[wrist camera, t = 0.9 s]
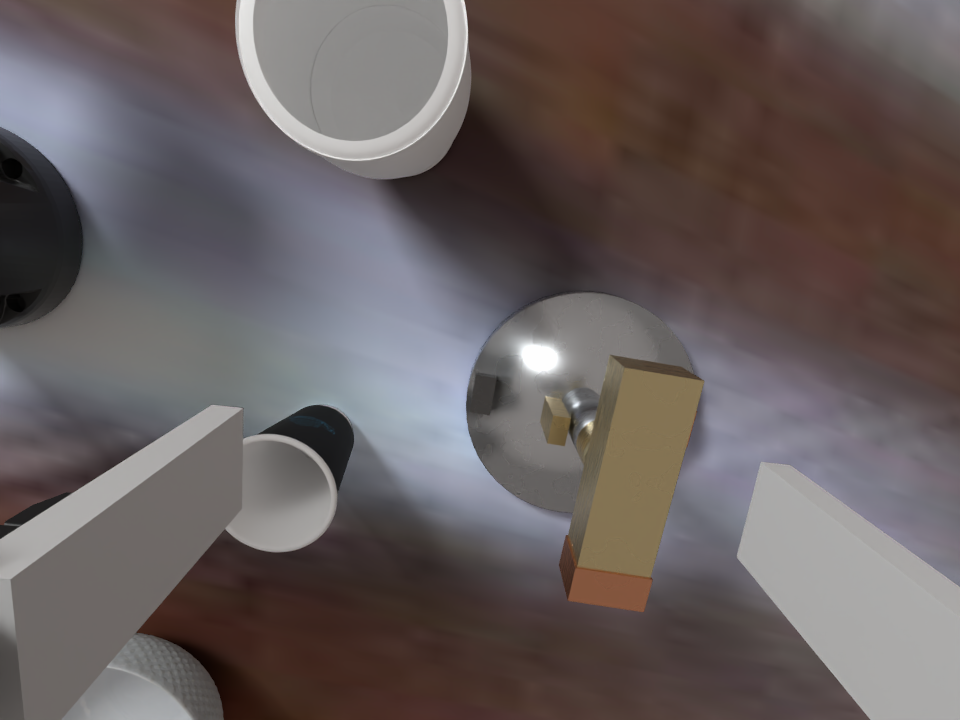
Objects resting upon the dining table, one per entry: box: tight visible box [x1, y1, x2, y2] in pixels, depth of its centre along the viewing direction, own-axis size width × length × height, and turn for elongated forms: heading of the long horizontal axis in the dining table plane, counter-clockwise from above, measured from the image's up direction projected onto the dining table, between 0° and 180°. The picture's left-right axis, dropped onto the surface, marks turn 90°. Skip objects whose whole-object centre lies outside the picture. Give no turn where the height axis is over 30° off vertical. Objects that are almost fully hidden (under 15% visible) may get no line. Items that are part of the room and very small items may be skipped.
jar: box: [235, 0, 471, 179], centre depth 30 cm, size 11×10×15 cm
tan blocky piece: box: [540, 355, 704, 612], centre depth 33 cm, size 7×13×13 cm, turn 170°
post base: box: [466, 291, 697, 513], centre depth 38 cm, size 18×18×8 cm
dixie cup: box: [225, 405, 354, 552], centre depth 37 cm, size 8×8×11 cm
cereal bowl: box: [61, 633, 224, 720], centre depth 45 cm, size 17×17×7 cm
